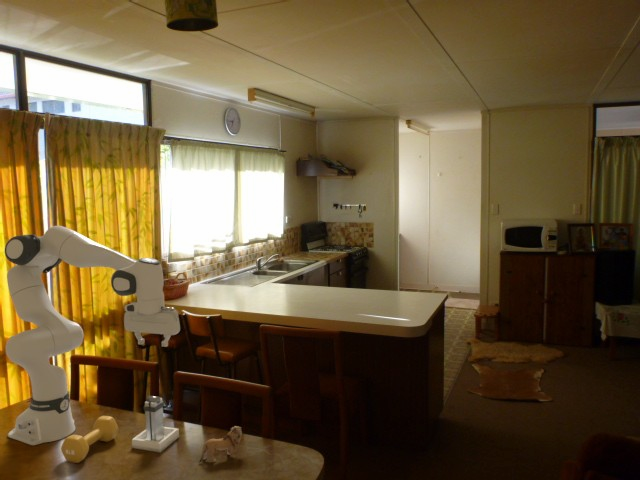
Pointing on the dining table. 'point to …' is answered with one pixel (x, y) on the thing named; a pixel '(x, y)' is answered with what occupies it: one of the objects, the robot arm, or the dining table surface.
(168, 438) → the tray
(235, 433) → the lion figurine
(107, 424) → the dumbbell
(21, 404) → the dining table surface
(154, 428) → the white gray rectangular canister
